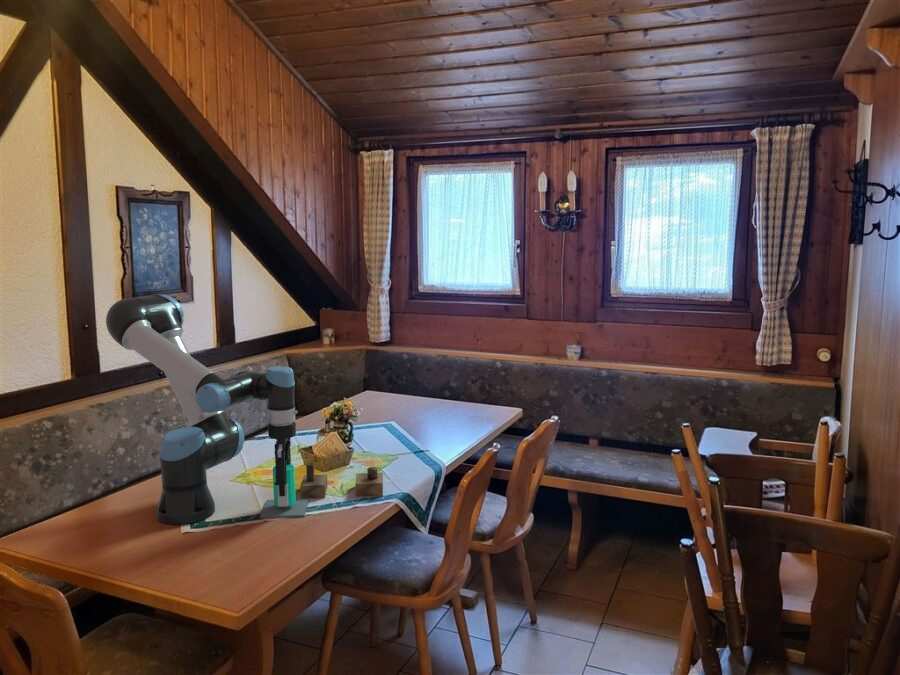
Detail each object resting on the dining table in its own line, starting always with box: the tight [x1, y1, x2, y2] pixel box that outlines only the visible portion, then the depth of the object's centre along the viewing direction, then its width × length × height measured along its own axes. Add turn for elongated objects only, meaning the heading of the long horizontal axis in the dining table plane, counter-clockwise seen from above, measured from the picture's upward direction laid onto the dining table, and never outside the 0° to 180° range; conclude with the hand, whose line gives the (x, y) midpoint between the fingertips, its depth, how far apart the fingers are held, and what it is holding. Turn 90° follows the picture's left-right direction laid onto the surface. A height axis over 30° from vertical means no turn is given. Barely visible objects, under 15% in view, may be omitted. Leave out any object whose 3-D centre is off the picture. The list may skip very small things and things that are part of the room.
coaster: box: [259, 498, 310, 519], centre depth 204 cm, size 12×12×1 cm
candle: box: [272, 464, 297, 507], centre depth 203 cm, size 6×6×12 cm
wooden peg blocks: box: [300, 462, 384, 499], centre depth 217 cm, size 24×9×9 cm, turn 95°
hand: (284, 501), depth 204 cm, fingers closed on candle, 6 cm apart
